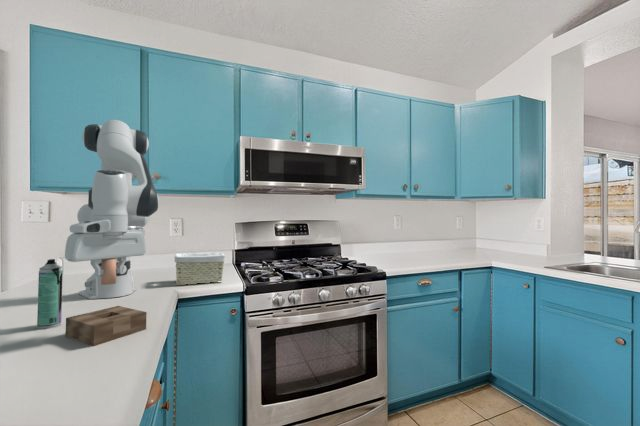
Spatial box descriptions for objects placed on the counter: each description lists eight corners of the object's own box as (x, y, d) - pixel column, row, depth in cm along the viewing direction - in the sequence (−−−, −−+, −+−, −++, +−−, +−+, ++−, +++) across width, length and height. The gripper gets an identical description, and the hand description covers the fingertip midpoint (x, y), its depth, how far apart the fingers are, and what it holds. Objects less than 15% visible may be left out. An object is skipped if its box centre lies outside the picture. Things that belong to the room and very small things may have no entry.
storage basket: (221, 277, 175) (221, 251, 175) (225, 283, 160) (225, 254, 160) (174, 281, 165) (174, 252, 165) (173, 287, 150) (174, 256, 150)
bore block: (65, 336, 86) (66, 317, 86) (117, 321, 99) (118, 305, 99) (93, 345, 80) (94, 326, 80) (146, 329, 92) (146, 312, 92)
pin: (98, 284, 89) (99, 259, 89) (111, 281, 92) (112, 257, 92) (105, 285, 87) (106, 260, 87) (118, 283, 90) (119, 258, 90)
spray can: (65, 322, 97) (67, 258, 98) (51, 329, 92) (53, 260, 92) (47, 322, 97) (49, 258, 97) (31, 329, 91) (34, 260, 92)
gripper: (138, 225, 101) (137, 268, 100) (62, 226, 82) (61, 279, 82) (150, 225, 98) (149, 270, 97) (75, 226, 79) (73, 281, 79)
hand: (108, 274), depth 89 cm, fingers closed on pin, 3 cm apart
